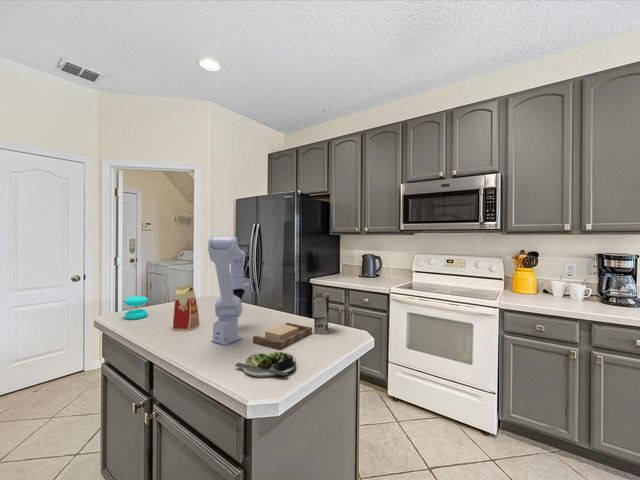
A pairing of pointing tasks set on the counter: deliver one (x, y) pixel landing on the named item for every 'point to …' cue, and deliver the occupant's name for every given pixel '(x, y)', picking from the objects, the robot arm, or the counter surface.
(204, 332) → the counter surface
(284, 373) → the salad plate
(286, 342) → the tray
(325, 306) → the coffee box
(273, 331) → the kraft carton
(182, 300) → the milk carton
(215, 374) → the counter surface
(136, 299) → the turquoise double disc piece
